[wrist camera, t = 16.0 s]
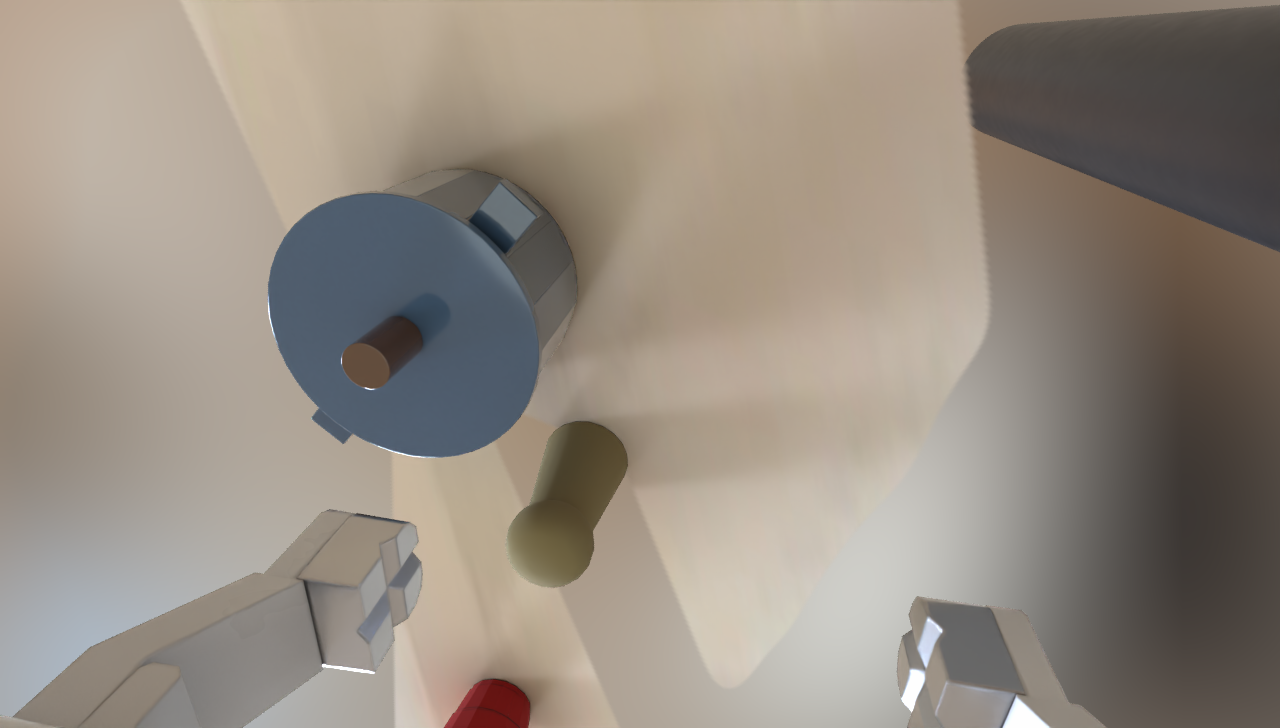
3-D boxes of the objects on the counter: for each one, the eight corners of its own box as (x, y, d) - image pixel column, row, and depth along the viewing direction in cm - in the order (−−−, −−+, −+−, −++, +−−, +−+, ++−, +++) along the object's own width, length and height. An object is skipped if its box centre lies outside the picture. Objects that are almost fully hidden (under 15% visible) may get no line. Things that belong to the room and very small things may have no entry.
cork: (600, 409, 46) (557, 507, 36) (643, 476, 48) (612, 588, 38) (529, 439, 48) (470, 540, 38) (573, 503, 50) (527, 615, 40)
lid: (602, 333, 34) (580, 374, 30) (443, 490, 40) (407, 542, 36) (370, 121, 31) (310, 133, 27) (237, 324, 37) (171, 360, 33)
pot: (650, 248, 41) (621, 302, 32) (472, 429, 49) (412, 511, 40) (477, 82, 38) (396, 94, 30) (319, 302, 46) (220, 360, 38)
